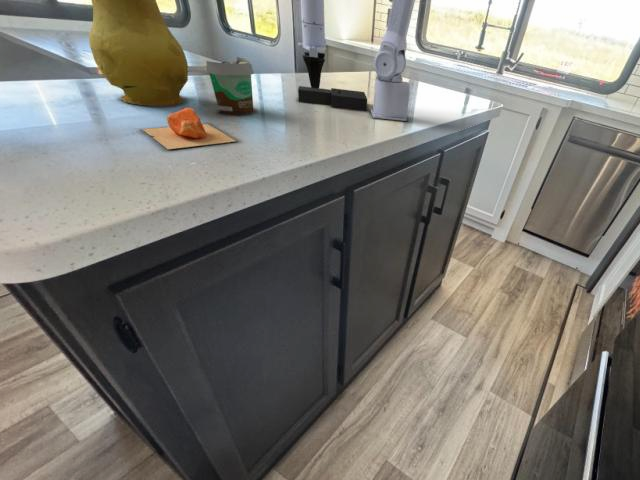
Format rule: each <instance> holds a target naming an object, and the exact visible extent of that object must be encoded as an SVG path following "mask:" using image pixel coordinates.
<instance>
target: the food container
mask: <svg viewBox="0 0 640 480" xmlns="http://www.w3.org/2000/svg"><path fill="white" fill-rule="evenodd" d="M206 74H209V77H210V81H211V85H212V89H213V93H214V96H215V100H216V104H217V107H218V111H219V114H222V115H230V116H243V115H244V116H245V115H250V114H252V113H254V98H253V83H252V75H254V69H253V65H252V63H251V62H250V60H249V59H246V58H243V57H238V56H237V57H236V61H233V62H232V61H231V62H230V61H221V62H218V61H217V62H216V61H209V60H206Z"/></svg>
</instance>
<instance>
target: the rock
mask: <svg viewBox="0 0 640 480" xmlns="http://www.w3.org/2000/svg"><path fill="white" fill-rule="evenodd" d="M166 120H167V123H168V126H166V127H153V128H142V129H141V130H142V131H143V132H144V133H146V134H147V135H149V136H150V137H152V139H154V140H155V141H156V142H157V143H159V144H160V145H162V146H163V147H165V148H166V149H167V150H174V149H175V150H177V149H184V148H190V147H191V148H192V147H198V146H199V147H200V146H208V145H217V144H225V143H231V142H236V140H235V139H233V138H232V137H230V136H229V135H227V134H225V133H223V131H220V130H218V129H217V128H215V127H214V126H212V125H211V124H208V123H202V121H201V118H200V117H199V115H198V114H197V112H196V111H195V109H194V108H192V107H184V108H183V109H180V110H179V111H175V112H171V113H169V114H168V116H167V119H166Z"/></svg>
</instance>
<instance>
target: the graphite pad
mask: <svg viewBox="0 0 640 480" xmlns="http://www.w3.org/2000/svg"><path fill="white" fill-rule="evenodd" d="M330 90H332V91H339V94H336V93H331V100H332V104H331V108H336V109H346V110H355V111H364V112H367V110H368V98H367V96H366V93H365V91H359V90H351V89H343V88H335V87H331V88H330Z"/></svg>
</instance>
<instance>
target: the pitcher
mask: <svg viewBox="0 0 640 480" xmlns="http://www.w3.org/2000/svg"><path fill="white" fill-rule="evenodd" d="M91 4H92V12H93V13H92V14H93V16H92V17H93V18H92V24H91V27H90V30H89V33H88V43H89V48H90V50H91V54H92V57H93V60H94V62H95V64H96V66H97V67H98V69H99V71H100V73H101V75H102V77H103V78H105V79H106V81H107V82H108V83H109V85H111V86H113V87H116V88H118V89H121V90H122V92H123V94H124V95H122V96H120V101H122V102H124V103H129V104H133V105H140V106H141V105H142V106H146V107H149V106H150V107H174V106H176V105H181V104H182V103H184V102H185V98H184V97H182V96H181V91H182V90H183V88H184V87H185V85H186V84H187V82H188V81H189V63H188V60H187V58H186V54H185V51H184V49H183V47H182V46H181V45H182V44H180V42H179V41H178V40H177V38H176V37H175V36H174V34H173V33H172V32H171V30H170V29H169V28H168V26H167V24H166V22H165V20H164V18H163V16H162V13H161V11H160V8H159V5H158V3H157V0H91Z"/></svg>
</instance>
